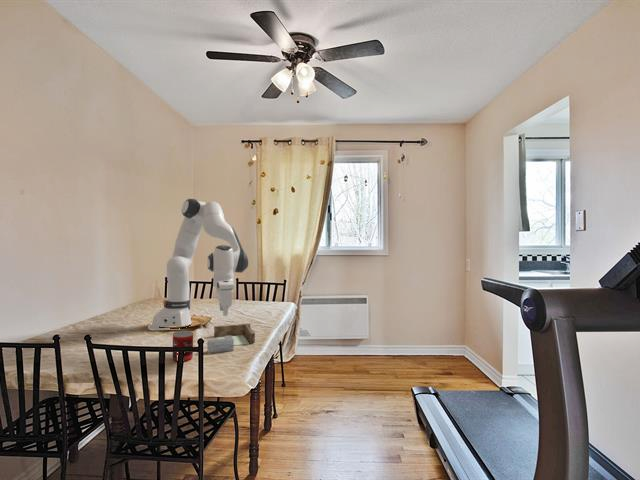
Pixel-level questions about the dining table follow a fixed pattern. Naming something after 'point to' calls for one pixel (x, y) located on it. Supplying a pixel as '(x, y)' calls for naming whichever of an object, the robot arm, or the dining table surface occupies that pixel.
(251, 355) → the dining table surface
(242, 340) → the pad
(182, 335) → the canned food
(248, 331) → the arena
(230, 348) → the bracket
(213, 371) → the dining table surface
